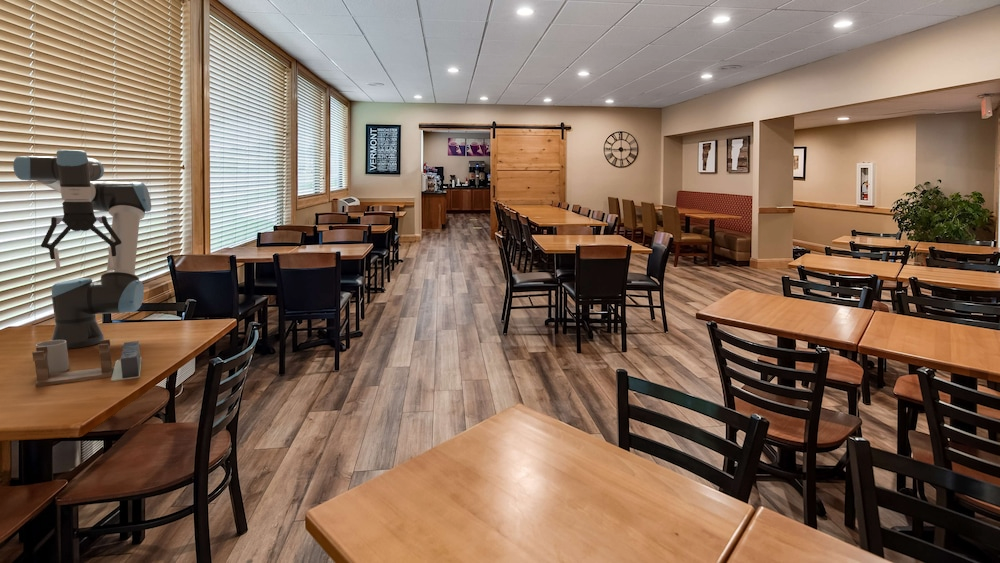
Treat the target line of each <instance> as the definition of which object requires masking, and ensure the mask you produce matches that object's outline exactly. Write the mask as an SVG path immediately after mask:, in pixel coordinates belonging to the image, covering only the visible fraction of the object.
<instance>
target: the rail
mask: <svg viewBox="0 0 1000 563" xmlns="http://www.w3.org/2000/svg"><path fill="white" fill-rule="evenodd" d="M140 357H141V350H140V342H139V340H137V341H136V340H135V341H134V340H133V341H126V342H123V346H122V351H121V355H120V360H121V368H122V378H129V377H137V376H139V369H140Z"/></svg>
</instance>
